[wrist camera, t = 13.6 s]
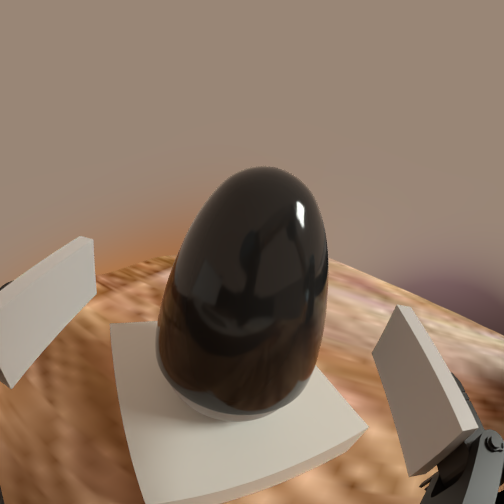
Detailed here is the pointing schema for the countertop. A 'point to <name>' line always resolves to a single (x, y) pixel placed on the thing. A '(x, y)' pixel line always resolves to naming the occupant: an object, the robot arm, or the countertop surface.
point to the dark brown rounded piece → (246, 298)
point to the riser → (219, 432)
